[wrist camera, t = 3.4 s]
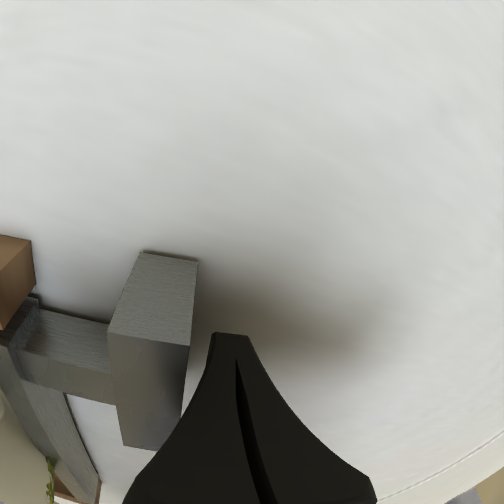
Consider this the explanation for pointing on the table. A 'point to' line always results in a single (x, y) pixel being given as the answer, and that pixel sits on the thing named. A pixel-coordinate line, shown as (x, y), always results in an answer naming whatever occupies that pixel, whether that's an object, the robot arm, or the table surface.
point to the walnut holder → (9, 300)
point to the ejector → (103, 367)
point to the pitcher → (21, 463)
